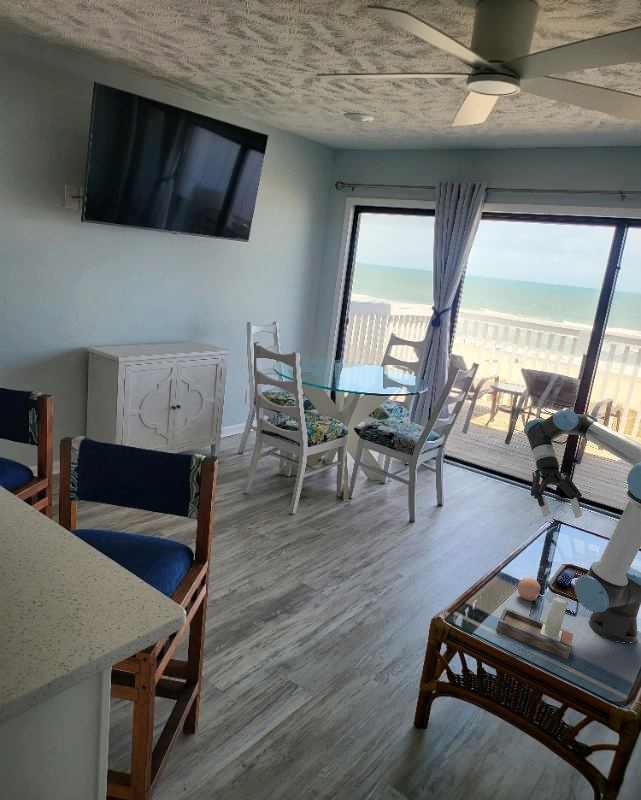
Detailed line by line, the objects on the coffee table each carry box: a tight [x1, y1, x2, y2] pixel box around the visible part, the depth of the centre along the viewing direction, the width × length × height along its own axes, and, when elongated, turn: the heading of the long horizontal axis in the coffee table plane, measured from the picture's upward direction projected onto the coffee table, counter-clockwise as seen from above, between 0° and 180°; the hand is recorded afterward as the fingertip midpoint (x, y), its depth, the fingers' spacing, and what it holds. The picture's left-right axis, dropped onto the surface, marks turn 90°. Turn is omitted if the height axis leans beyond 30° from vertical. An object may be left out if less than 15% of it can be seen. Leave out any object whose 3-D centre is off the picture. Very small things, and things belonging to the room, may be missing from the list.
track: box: [496, 607, 574, 660], centre depth 197 cm, size 22×11×4 cm, turn 63°
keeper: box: [540, 596, 568, 643], centre depth 193 cm, size 6×7×12 cm
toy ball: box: [517, 577, 541, 601], centre depth 222 cm, size 8×8×8 cm
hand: (563, 516), depth 209 cm, fingers open, 13 cm apart
